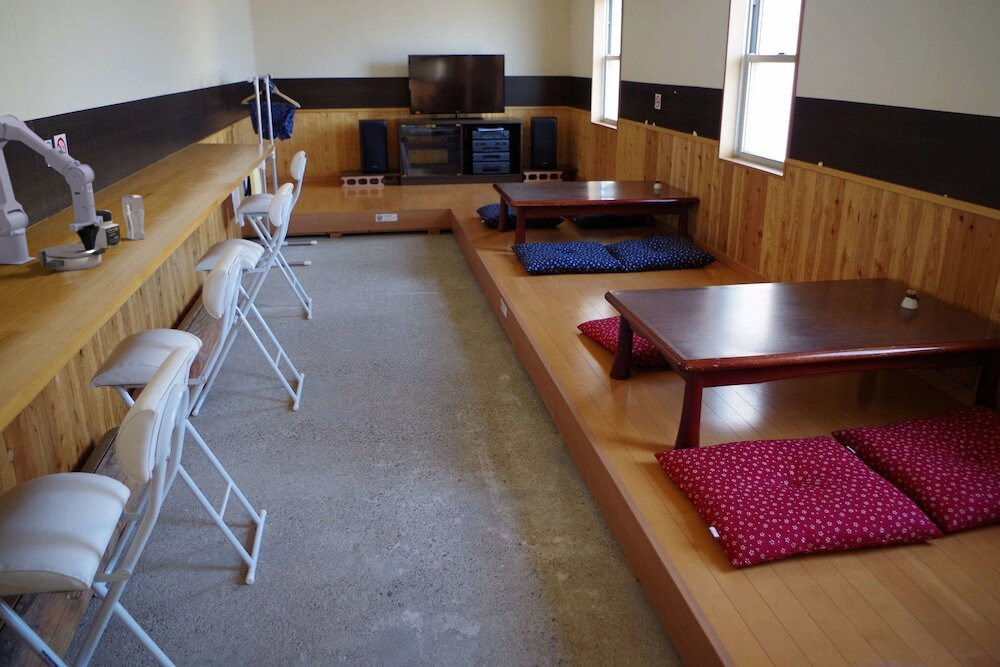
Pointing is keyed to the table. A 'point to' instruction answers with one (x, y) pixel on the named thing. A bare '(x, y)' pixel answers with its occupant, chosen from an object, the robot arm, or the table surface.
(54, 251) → the lid
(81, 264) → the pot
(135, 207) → the beer glass
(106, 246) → the medicine bottle
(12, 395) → the table surface
